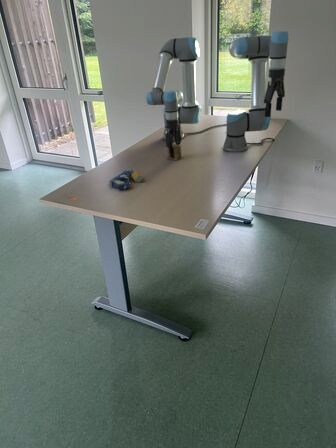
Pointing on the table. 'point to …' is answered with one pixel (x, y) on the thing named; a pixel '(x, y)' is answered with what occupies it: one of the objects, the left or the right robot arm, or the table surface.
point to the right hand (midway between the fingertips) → (273, 113)
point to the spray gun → (124, 179)
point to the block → (175, 152)
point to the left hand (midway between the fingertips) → (174, 155)
